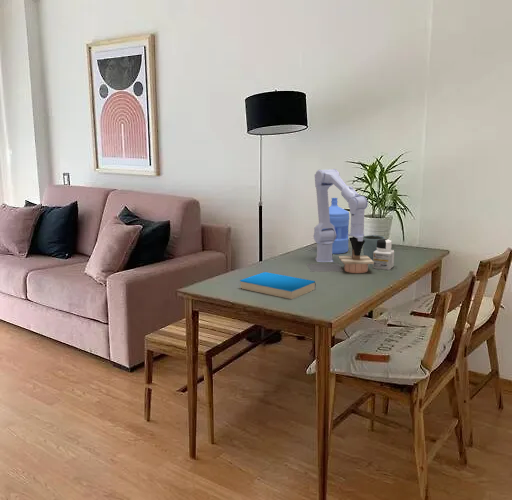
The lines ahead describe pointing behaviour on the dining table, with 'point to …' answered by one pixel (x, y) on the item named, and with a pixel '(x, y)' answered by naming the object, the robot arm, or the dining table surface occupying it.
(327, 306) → the dining table surface
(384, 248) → the container
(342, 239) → the water jug
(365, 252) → the dark green cup
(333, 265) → the mat
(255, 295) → the dining table surface
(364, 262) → the lid
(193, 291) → the dining table surface
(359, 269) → the bowl
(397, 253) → the dining table surface
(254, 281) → the book
